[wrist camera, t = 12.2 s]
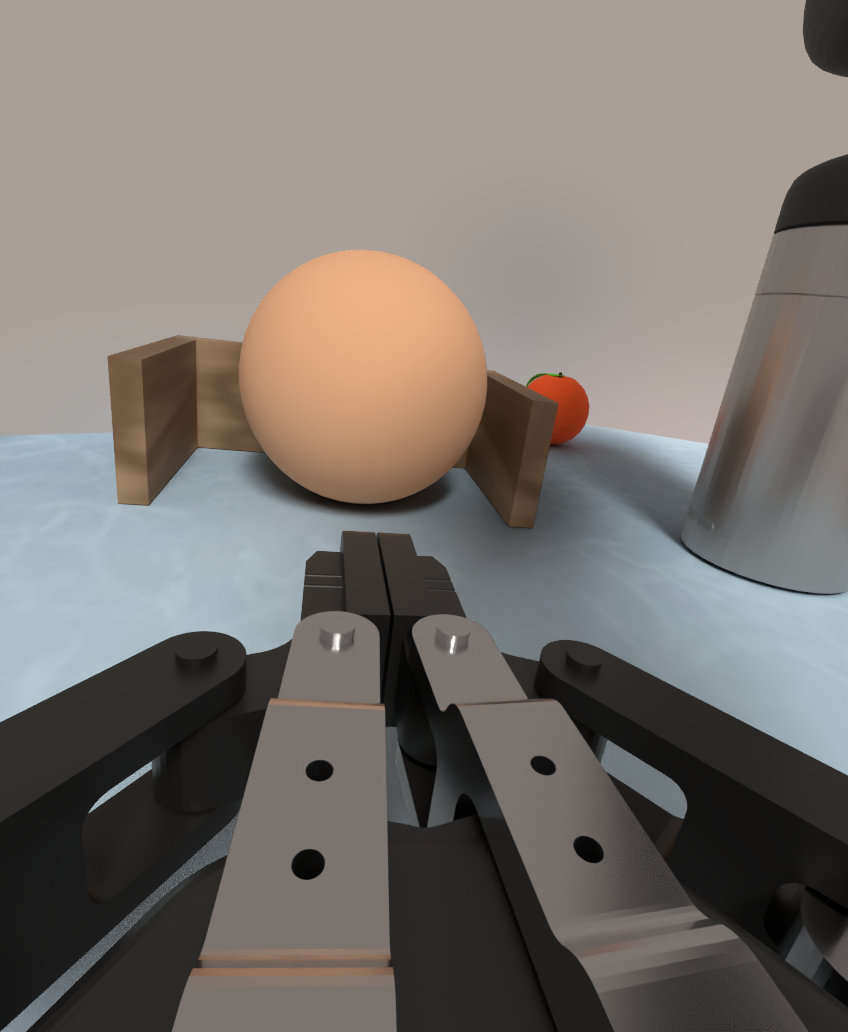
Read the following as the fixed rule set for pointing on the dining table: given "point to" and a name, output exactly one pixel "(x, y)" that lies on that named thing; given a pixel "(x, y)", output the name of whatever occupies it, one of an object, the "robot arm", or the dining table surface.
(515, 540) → the dining table surface
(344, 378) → the ball
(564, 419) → the clementine
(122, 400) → the pocket
